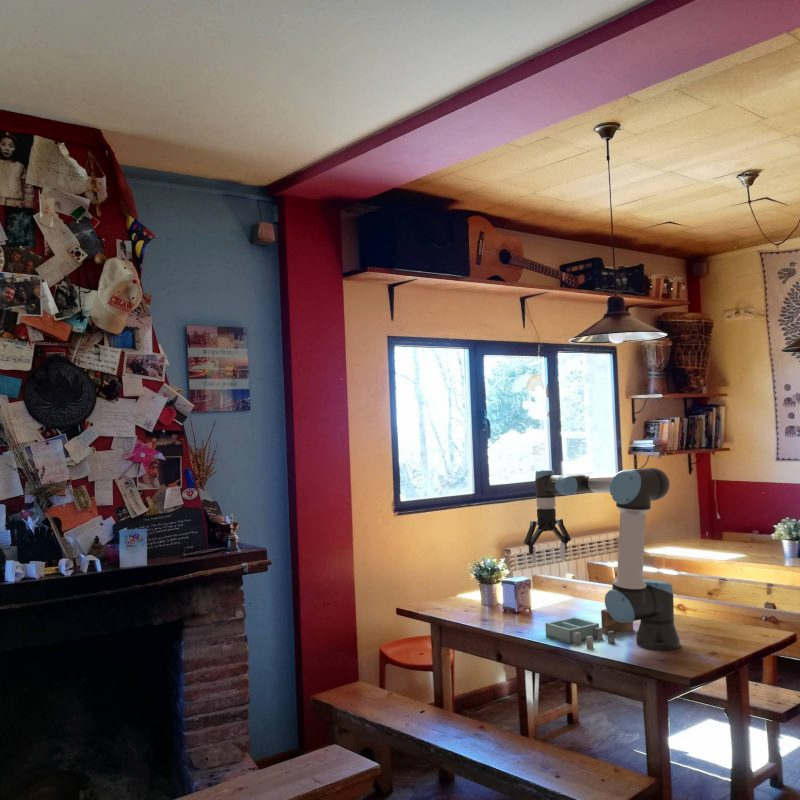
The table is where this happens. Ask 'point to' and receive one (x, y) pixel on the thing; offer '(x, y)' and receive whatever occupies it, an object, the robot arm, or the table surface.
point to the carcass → (569, 629)
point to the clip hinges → (592, 637)
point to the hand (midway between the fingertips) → (548, 560)
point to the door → (613, 624)
